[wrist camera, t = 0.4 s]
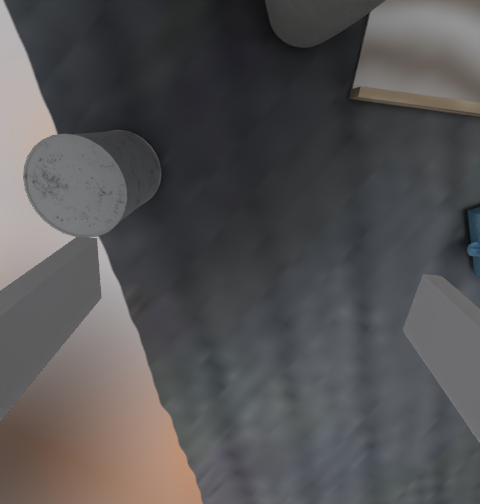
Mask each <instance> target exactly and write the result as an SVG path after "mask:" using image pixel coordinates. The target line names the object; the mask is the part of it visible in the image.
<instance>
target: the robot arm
mask: <svg viewBox="0 0 480 504" xmlns="http://www.w3.org/2000/svg"><path fill="white" fill-rule="evenodd" d="M100 299H101V287H100V274H99V261H98V247H97V239H96V238H87V237H76V238H75V239H73V240H72V241H70V242H69V243H68V244H66V245H65V246H63V247H62V248H61V249H59V250H58V251H56V252H55V253H53V254H52V255H51V256H49V257H48V258H46V259H45V260H44V261H42V262H41V263H39V264H38V265H36V266H35V267H34V268H32V269H31V270H29V271H28V272H27V273H25V274H24V275H22V276H21V277H19V278H18V279H17V280H15V281H14V282H12V283H11V284H9V285H8V286H7V287H5V288H4V289H2V290H1V291H0V421H1V420H2V418H3V417H4V416H5V415H6V413H7V412H8V411H9V410H10V409H11V407H12V406H13V405H14V404H15V402H16V401H17V400H18V399H19V398H20V396H21V395H22V394H23V393H24V391H25V390H26V389H27V388H28V387H29V385H30V384H31V383H32V382H33V381H34V379H35V378H36V377H37V376H38V374H39V373H40V372H41V371H42V369H43V368H44V367H45V366H46V365H47V363H48V362H49V361H50V360H51V358H52V357H53V356H54V355H55V354H56V353H57V351H58V350H59V349H60V347H61V346H62V345H63V344H64V343H65V342H66V340H67V339H68V338H69V337H70V335H71V334H72V333H73V332H74V331H75V329H76V328H77V327H78V326H79V324H80V323H81V322H82V321H83V319H84V318H85V317H86V316H87V315H88V314H89V312H90V311H91V310H92V309H93V307H94V306H95V305H96V304H97V303H98V301H99V300H100ZM403 332H404V333H405V335H406V336H407V338H408V339H409V341H410V342H411V344H412V345H413V347H414V348H415V349H416V351H417V352H418V354H419V355H420V357H421V358H422V360H423V361H424V363H425V364H426V365H427V367H428V368H429V370H430V371H431V373H432V374H433V376H434V377H435V379H436V380H437V382H438V383H439V384H440V386H441V387H442V389H443V390H444V392H445V393H446V395H447V396H448V398H449V399H450V400H451V402H452V403H453V405H454V406H455V408H456V409H457V411H458V412H459V414H460V415H461V417H462V418H463V419H464V421H465V422H466V424H467V425H468V427H469V428H470V430H471V431H472V433H473V434H474V435H475V437H476V438H477V440H478V441H479V443H480V309H479V308H478V307H477V306H476V305H475V304H473V303H472V302H471V301H470V300H469V299H468V298H466V297H465V296H464V295H463V294H462V293H461V292H460V291H458V290H457V289H456V288H455V287H454V286H453V285H451V284H450V283H449V282H448V281H447V280H446V279H445V278H443V277H442V276H436V275H427V274H423V275H422V278H421V281H420V283H419V286H418V289H417V292H416V294H415V297H414V300H413V303H412V305H411V308H410V311H409V314H408V316H407V319H406V322H405V325H404V327H403Z"/></svg>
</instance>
